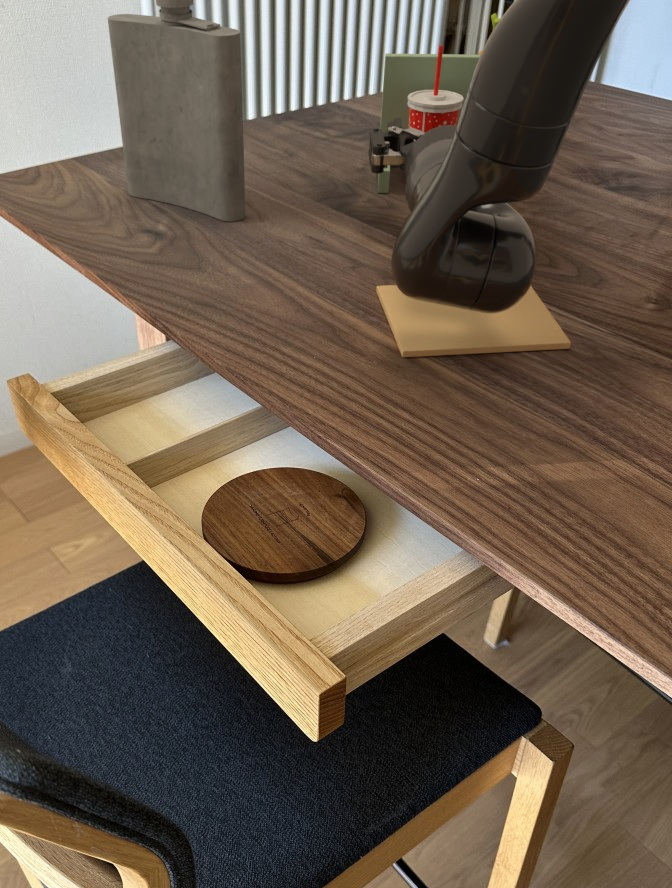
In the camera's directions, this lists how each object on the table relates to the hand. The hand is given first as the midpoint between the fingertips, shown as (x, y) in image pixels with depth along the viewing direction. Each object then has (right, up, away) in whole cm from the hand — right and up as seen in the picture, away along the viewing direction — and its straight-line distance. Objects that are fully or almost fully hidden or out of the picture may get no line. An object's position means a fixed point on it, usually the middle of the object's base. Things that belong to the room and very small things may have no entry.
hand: (437, 128), depth 89 cm
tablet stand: (+1, -1, +11) cm, 11 cm away
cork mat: (0, -24, -15) cm, 28 cm away
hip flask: (-27, -5, +6) cm, 28 cm away
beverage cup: (+1, -1, +11) cm, 11 cm away
